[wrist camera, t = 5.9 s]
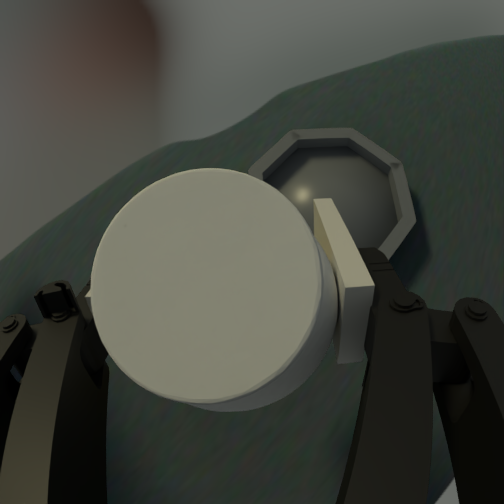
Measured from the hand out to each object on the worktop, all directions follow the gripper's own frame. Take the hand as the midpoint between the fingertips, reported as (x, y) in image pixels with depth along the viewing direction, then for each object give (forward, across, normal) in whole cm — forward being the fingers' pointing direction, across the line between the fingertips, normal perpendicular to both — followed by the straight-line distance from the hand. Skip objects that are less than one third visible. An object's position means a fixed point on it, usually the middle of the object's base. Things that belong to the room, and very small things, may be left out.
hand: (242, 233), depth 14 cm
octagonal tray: (+15, +6, -4) cm, 16 cm away
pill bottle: (0, 0, -5) cm, 5 cm away
